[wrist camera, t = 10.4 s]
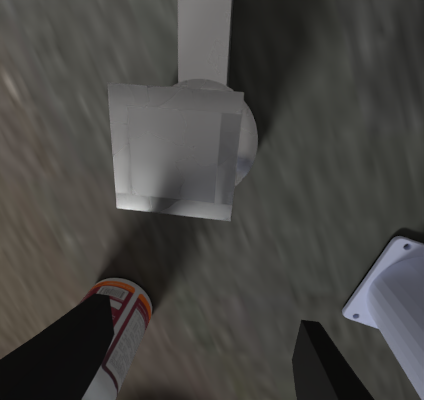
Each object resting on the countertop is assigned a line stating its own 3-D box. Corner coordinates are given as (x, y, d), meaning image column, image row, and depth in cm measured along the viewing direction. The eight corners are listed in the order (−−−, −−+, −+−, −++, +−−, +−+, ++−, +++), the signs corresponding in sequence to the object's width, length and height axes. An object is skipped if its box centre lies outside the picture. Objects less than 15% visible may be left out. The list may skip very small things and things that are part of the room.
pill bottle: (80, 295, 24) (-49, 445, 13) (118, 263, 22) (3, 408, 11) (127, 335, 25) (42, 501, 15) (167, 307, 23) (104, 476, 13)
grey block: (244, 97, 14) (244, 92, 8) (235, 179, 16) (230, 221, 10) (160, 91, 14) (107, 82, 9) (161, 172, 16) (116, 207, 10)
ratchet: (250, 190, 18) (252, 217, 14) (157, 182, 19) (130, 206, 14) (293, -211, 11) (326, -415, 7) (143, -200, 12) (83, -379, 7)
